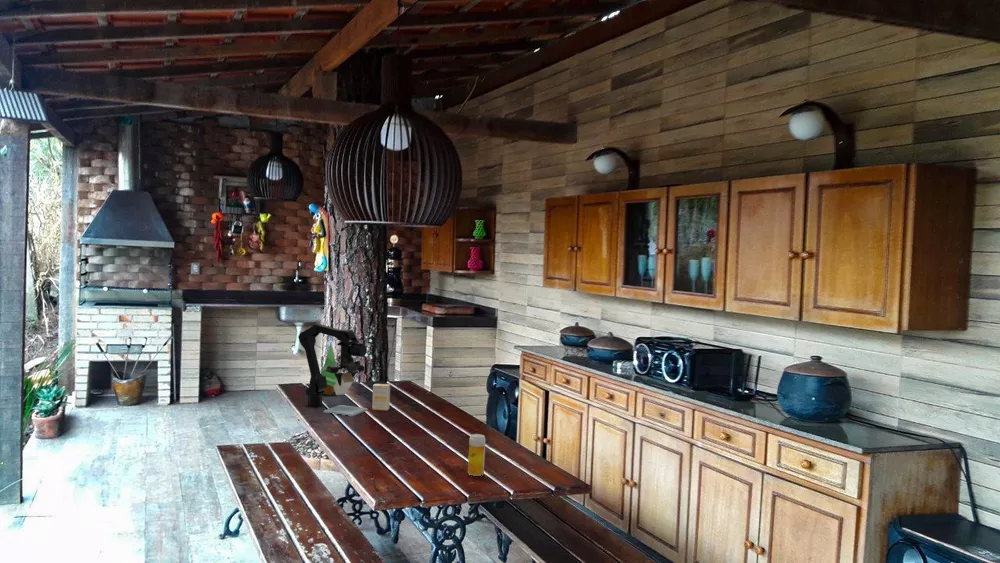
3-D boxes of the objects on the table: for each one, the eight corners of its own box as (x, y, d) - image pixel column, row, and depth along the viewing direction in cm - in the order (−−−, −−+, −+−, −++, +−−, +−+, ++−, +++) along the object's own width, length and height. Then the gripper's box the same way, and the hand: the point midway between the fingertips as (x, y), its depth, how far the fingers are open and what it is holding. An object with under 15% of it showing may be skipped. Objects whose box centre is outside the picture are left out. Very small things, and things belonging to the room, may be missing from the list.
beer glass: (467, 472, 277) (469, 433, 276) (483, 472, 277) (485, 434, 277) (467, 477, 271) (470, 437, 270) (484, 477, 271) (486, 438, 271)
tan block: (333, 387, 372) (341, 373, 366) (342, 386, 376) (350, 372, 369) (336, 395, 370) (344, 381, 363) (345, 394, 373) (353, 380, 366)
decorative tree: (332, 390, 417) (334, 339, 415) (346, 395, 405) (348, 342, 404) (310, 393, 408) (313, 340, 406) (324, 398, 396) (327, 343, 395)
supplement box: (389, 409, 378) (390, 384, 377) (387, 411, 373) (388, 385, 372) (374, 408, 378) (375, 383, 378) (371, 409, 374) (372, 384, 373)
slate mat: (323, 412, 362) (323, 410, 362) (339, 406, 377) (340, 404, 377) (352, 416, 357) (352, 414, 357) (367, 410, 372) (367, 408, 372)
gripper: (336, 358, 355) (335, 389, 356) (370, 356, 367) (368, 386, 368) (326, 354, 364) (325, 385, 365) (359, 353, 376) (358, 383, 377)
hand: (344, 385), depth 368 cm, fingers closed on tan block, 5 cm apart
